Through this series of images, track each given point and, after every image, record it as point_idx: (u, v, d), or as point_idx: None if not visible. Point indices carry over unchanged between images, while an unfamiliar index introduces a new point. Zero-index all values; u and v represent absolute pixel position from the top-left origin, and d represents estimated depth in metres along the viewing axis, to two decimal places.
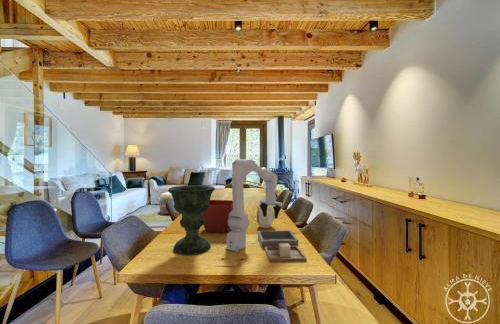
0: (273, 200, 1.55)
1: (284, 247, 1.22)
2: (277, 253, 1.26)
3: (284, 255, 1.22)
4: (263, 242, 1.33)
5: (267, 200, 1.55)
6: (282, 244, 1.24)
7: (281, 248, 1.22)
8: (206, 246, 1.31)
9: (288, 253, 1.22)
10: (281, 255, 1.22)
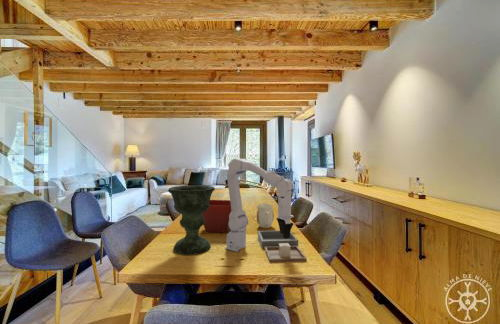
0: (283, 214, 1.21)
1: (284, 247, 1.22)
2: (277, 253, 1.26)
3: (284, 255, 1.22)
4: (263, 242, 1.33)
5: (278, 213, 1.24)
6: (282, 244, 1.24)
7: (281, 248, 1.22)
8: (206, 246, 1.31)
9: (288, 253, 1.22)
10: (281, 255, 1.22)
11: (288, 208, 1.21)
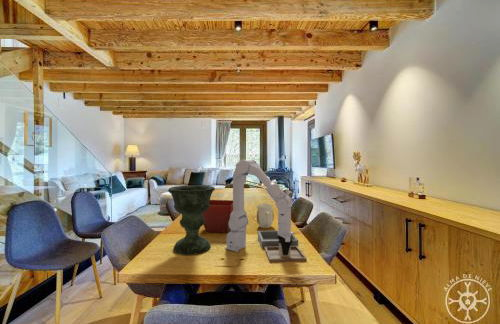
0: (283, 232, 1.21)
1: None
2: (277, 253, 1.26)
3: (284, 255, 1.22)
4: (263, 242, 1.33)
5: (278, 230, 1.24)
6: None
7: (281, 248, 1.22)
8: (206, 246, 1.31)
9: (288, 253, 1.22)
10: (281, 255, 1.22)
11: (288, 225, 1.21)
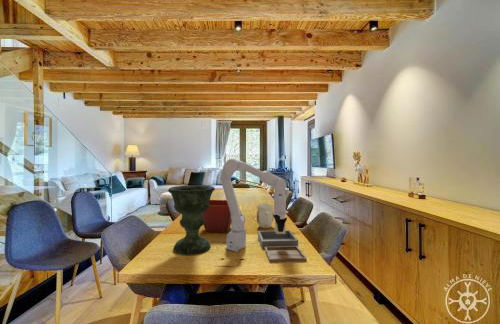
0: (278, 210, 1.32)
1: None
2: (277, 253, 1.26)
3: (279, 232, 1.33)
4: (263, 242, 1.33)
5: (274, 209, 1.35)
6: None
7: (277, 226, 1.32)
8: (206, 246, 1.31)
9: (283, 231, 1.33)
10: (277, 232, 1.33)
11: (283, 205, 1.32)
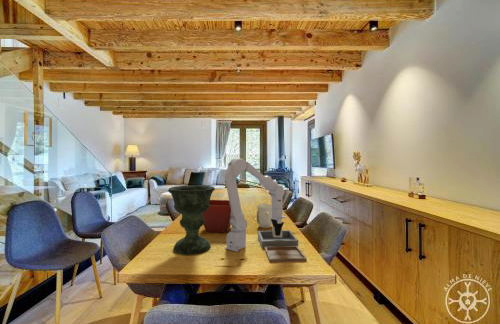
0: (276, 215, 1.40)
1: None
2: (277, 253, 1.26)
3: (277, 236, 1.41)
4: (263, 242, 1.33)
5: None
6: None
7: (274, 230, 1.41)
8: (206, 246, 1.31)
9: (280, 234, 1.41)
10: (274, 236, 1.41)
11: (280, 210, 1.40)
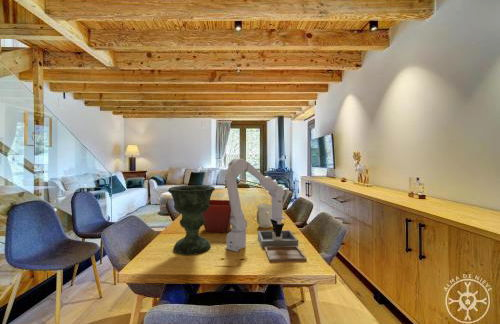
0: (276, 216, 1.40)
1: None
2: (277, 253, 1.26)
3: None
4: (263, 242, 1.33)
5: None
6: None
7: (274, 236, 1.40)
8: (206, 246, 1.31)
9: None
10: None
11: (280, 210, 1.40)
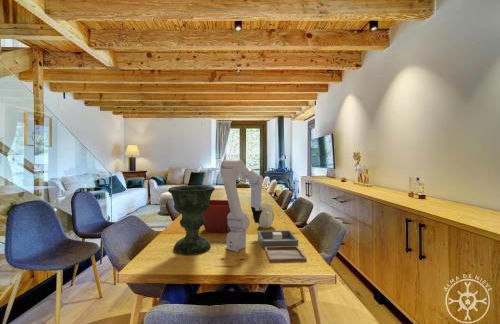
0: (254, 203, 1.49)
1: (277, 235, 1.41)
2: (277, 253, 1.26)
3: None
4: (263, 242, 1.33)
5: (251, 202, 1.51)
6: (275, 233, 1.43)
7: (274, 236, 1.40)
8: (206, 246, 1.31)
9: None
10: None
11: (258, 198, 1.49)
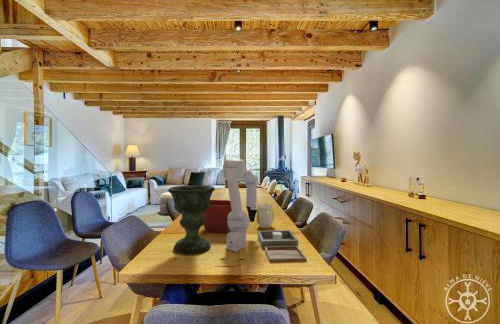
0: (250, 202, 1.51)
1: (277, 235, 1.41)
2: (277, 253, 1.26)
3: None
4: (263, 242, 1.33)
5: (246, 202, 1.53)
6: (275, 233, 1.43)
7: (274, 236, 1.40)
8: (206, 246, 1.31)
9: None
10: None
11: (254, 197, 1.51)
